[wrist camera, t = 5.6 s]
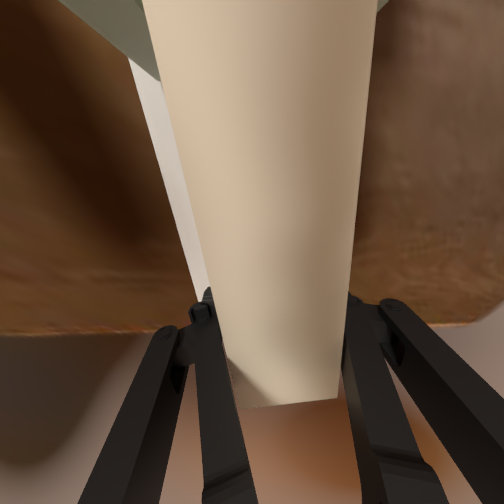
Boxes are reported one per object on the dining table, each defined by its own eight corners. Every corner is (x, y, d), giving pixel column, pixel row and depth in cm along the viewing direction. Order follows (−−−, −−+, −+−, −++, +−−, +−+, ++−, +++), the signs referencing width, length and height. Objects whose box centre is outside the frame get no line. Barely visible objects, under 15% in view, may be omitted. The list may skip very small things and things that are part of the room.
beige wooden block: (240, 291, 20) (239, 409, 11) (207, 96, 13) (139, -10, 4) (293, 285, 20) (337, 397, 11) (287, 86, 13) (381, -41, 4)
